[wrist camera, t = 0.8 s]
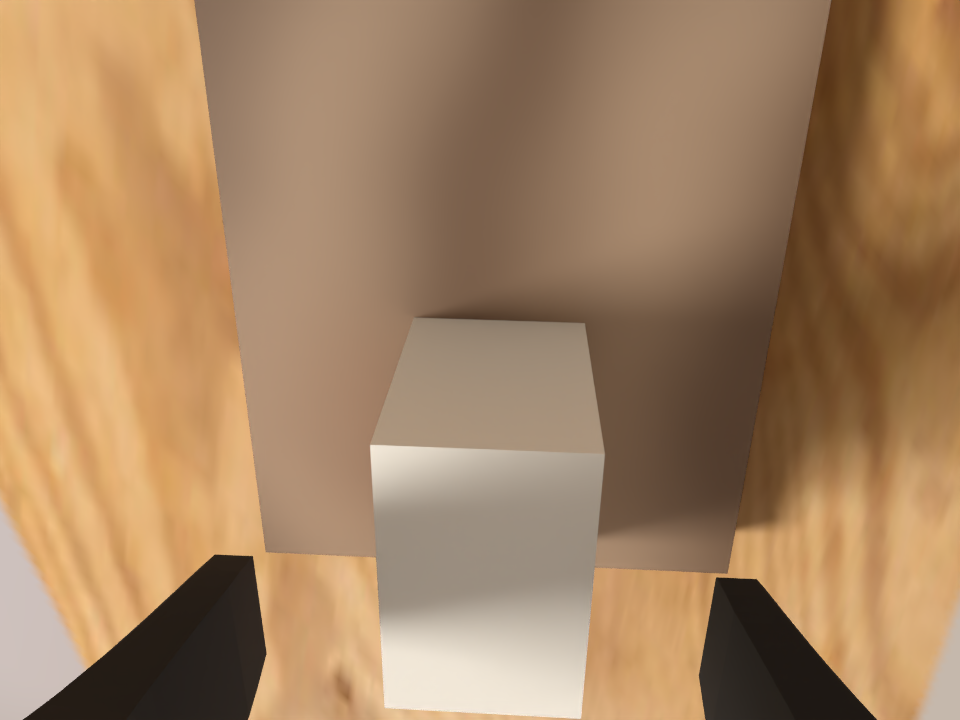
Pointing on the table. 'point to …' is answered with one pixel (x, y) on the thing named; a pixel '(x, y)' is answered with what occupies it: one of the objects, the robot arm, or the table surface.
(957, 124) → the table surface
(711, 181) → the shelf board
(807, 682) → the robot arm
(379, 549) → the carton
